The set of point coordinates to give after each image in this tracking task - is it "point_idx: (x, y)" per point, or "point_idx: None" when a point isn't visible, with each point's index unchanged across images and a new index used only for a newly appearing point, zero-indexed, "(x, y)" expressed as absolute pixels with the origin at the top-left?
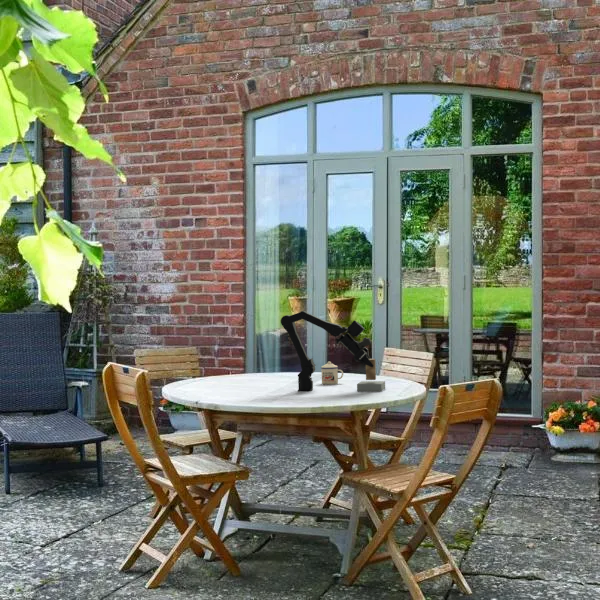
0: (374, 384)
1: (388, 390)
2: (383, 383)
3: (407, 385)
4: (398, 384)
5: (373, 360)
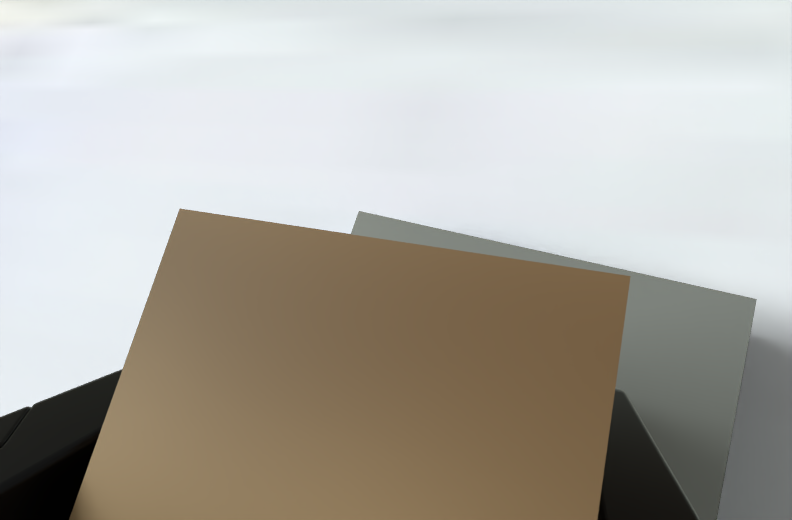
0: (730, 424)
1: (618, 223)
2: (516, 250)
3: (228, 24)
4: (124, 99)
5: (613, 358)
